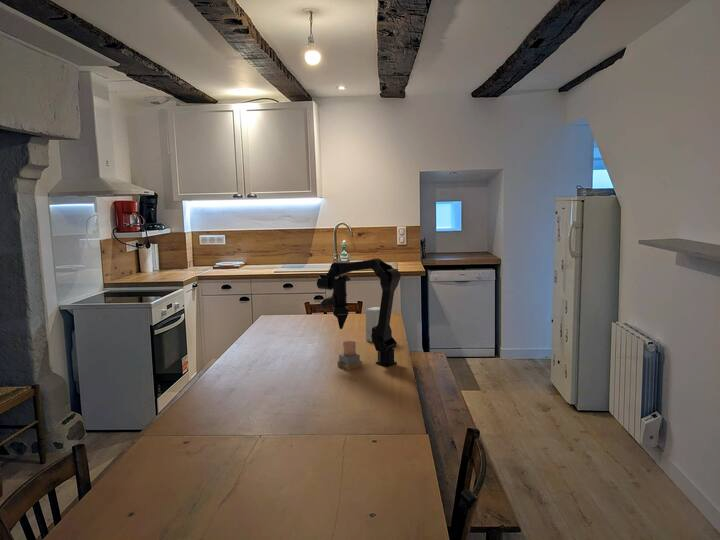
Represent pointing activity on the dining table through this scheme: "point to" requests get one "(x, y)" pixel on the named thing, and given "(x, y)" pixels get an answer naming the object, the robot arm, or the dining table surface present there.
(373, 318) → the skincare box
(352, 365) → the walnut block
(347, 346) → the terracotta cylinder
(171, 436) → the dining table surface
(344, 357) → the grey block
